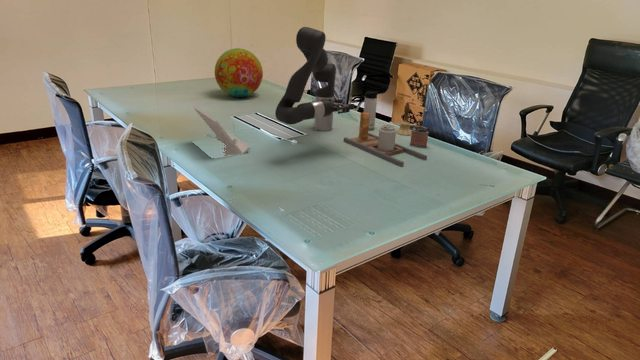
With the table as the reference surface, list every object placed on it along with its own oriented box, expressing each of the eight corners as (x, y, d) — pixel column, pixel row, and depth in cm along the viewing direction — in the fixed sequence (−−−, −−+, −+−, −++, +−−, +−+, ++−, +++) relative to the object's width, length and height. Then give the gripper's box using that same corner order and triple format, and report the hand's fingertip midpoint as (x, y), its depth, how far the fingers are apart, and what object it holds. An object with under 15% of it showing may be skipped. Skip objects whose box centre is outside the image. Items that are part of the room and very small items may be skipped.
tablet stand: (212, 160, 192) (209, 120, 185) (191, 142, 211) (188, 106, 204) (251, 153, 202) (250, 115, 195) (227, 137, 221) (226, 102, 214)
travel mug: (374, 130, 238) (377, 92, 230) (361, 129, 239) (364, 91, 231) (375, 127, 243) (378, 90, 235) (363, 126, 245) (366, 89, 237)
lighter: (427, 146, 218) (429, 126, 214) (426, 148, 215) (429, 128, 211) (410, 144, 221) (412, 124, 217) (409, 146, 218) (411, 125, 214)
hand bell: (393, 132, 236) (396, 102, 230) (402, 129, 242) (405, 99, 235) (406, 136, 231) (410, 105, 225) (415, 133, 237) (419, 103, 230)
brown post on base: (403, 152, 209) (406, 122, 203) (384, 157, 202) (387, 126, 196) (368, 137, 226) (370, 110, 221) (349, 141, 219) (351, 113, 214)
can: (375, 149, 212) (377, 124, 207) (390, 148, 213) (393, 124, 208) (379, 154, 205) (382, 129, 200) (395, 154, 206) (398, 128, 202)
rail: (426, 160, 201) (427, 155, 200) (400, 167, 192) (401, 162, 191) (368, 136, 229) (368, 132, 228) (343, 141, 220) (343, 137, 219)
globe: (259, 103, 282) (259, 53, 270) (211, 101, 282) (208, 50, 270) (265, 92, 309) (265, 46, 297) (221, 90, 309) (219, 44, 297)
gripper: (329, 104, 191) (358, 99, 200) (309, 96, 201) (338, 92, 210) (328, 121, 194) (357, 115, 203) (309, 113, 205) (337, 108, 213)
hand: (347, 103), depth 207 cm, fingers open, 8 cm apart
